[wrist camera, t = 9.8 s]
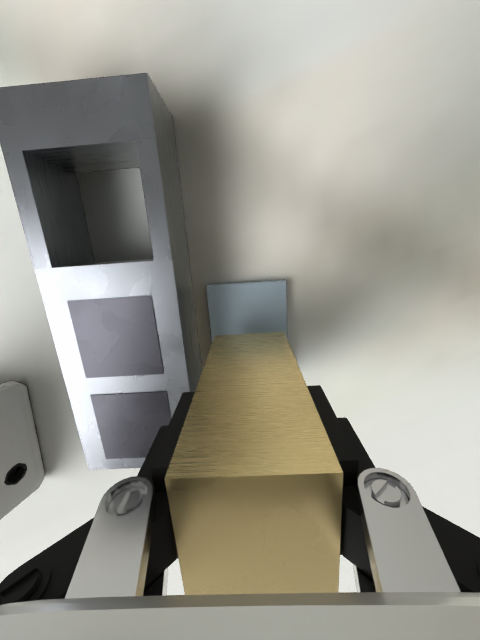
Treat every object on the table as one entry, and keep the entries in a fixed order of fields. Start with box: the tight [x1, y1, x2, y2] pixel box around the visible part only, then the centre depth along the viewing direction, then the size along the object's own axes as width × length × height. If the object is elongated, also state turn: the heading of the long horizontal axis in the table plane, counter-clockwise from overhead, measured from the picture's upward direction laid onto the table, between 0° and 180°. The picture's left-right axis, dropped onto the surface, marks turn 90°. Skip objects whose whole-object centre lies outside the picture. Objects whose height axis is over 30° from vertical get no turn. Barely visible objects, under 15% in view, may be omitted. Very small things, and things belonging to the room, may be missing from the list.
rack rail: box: [0, 73, 202, 470], centre depth 16 cm, size 20×7×4 cm, turn 4°
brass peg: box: [165, 332, 343, 595], centre depth 11 cm, size 4×4×10 cm
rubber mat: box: [206, 280, 287, 342], centre depth 18 cm, size 9×5×1 cm, turn 4°
